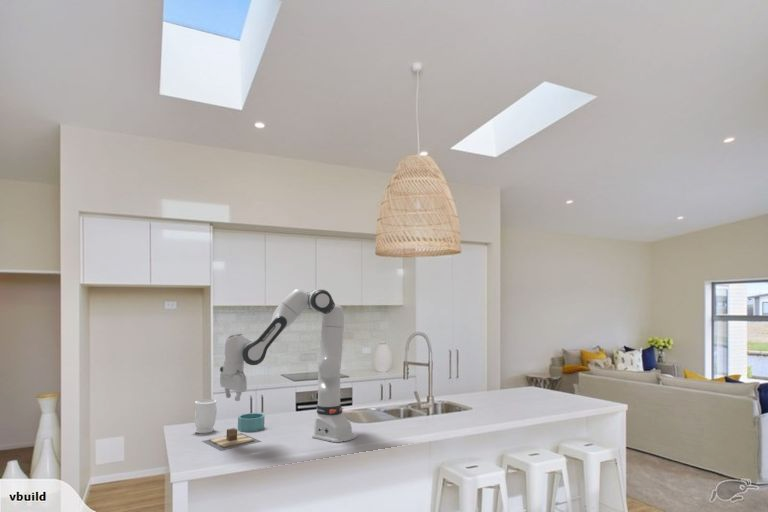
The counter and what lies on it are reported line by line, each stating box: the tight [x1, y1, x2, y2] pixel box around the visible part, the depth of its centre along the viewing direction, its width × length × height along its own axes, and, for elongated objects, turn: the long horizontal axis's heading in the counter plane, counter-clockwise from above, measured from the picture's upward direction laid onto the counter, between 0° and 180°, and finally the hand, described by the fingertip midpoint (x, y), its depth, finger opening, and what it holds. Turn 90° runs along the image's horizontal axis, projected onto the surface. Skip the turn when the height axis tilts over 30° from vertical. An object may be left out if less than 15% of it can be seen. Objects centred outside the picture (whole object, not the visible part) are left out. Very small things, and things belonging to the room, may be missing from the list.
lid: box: [208, 427, 254, 448], centre depth 224 cm, size 15×15×5 cm
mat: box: [201, 432, 263, 452], centre depth 224 cm, size 20×20×1 cm
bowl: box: [237, 412, 265, 433], centre depth 247 cm, size 13×13×6 cm
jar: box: [194, 398, 218, 434], centre depth 243 cm, size 11×10×15 cm
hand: (232, 399), depth 226 cm, fingers open, 8 cm apart
